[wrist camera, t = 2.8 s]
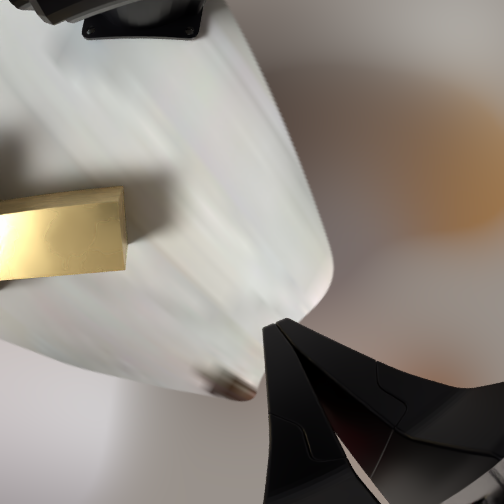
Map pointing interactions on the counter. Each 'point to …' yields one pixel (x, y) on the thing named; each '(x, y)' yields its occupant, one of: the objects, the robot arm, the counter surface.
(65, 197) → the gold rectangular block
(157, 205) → the counter surface
